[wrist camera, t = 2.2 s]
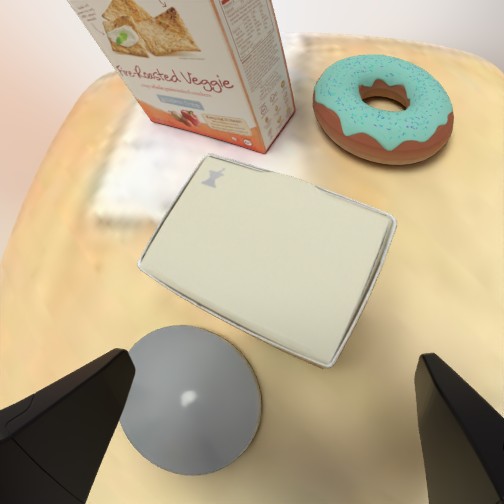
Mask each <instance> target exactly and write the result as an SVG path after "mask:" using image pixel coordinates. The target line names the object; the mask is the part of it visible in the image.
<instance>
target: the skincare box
mask: <svg viewBox="0 0 504 504" xmlns="http://www.w3.org/2000/svg"><path fill="white" fill-rule="evenodd" d="M396 227H397V221H396V219H395V218H394V217H393V216H392V215H391V214H389V213H386V212H384V211H381V210H378V209H376V208H373V207H371V206H368V205H366V204H364V203H361V202H358V201H356V200H353V199H350V198H348V197H345V196H343V195H340V194H337V193H334V192H331V191H329V190H326V189H323V188H321V187H318V186H316V185H313V184H310V183H308V182H305V181H303V180H300V179H297V178H294V177H292V176H288V175H284V174H280V173H276V172H272V171H269V170H266V169H262V168H259V167H256V166H253V165H249V164H246V163H242V162H239V161H235V160H232V159H229V158H225V157H221V156H218V155H215V154H210V153H208V154H206V155H205V156H204V157H203V158H202V160H201V161H200V163H199V164H198V166H197V167H196V169H195V171H194V172H193V173H192V174H191V176H190V177H189V179H188V180H187V182H186V183H185V185H184V186H183V187H182V189H181V190H180V192H179V193H178V195H177V197H176V198H175V200H174V201H173V203H172V204H171V206H170V207H169V209H168V210H167V212H166V213H165V215H164V217H163V218H162V220H161V222H160V223H159V225H158V227H157V228H156V230H155V232H154V233H153V235H152V237H151V238H150V240H149V242H148V245H147V247H146V248H145V250H144V252H143V254H142V255H141V257H140V259H139V261H138V263H137V265H138V268H139V269H140V270H141V271H142V272H144V273H145V274H147V275H148V276H150V277H151V278H152V279H154V280H155V281H157V282H158V283H160V284H161V285H163V286H164V287H166V288H167V289H169V290H170V291H172V292H173V293H175V294H176V295H178V296H180V297H181V298H183V299H185V300H187V301H188V302H190V303H192V304H193V305H195V306H197V307H199V308H200V309H202V310H204V311H206V312H208V313H209V314H211V315H213V316H215V317H217V318H219V319H221V320H222V321H224V322H226V323H228V324H230V325H232V326H234V327H236V328H238V329H240V330H242V331H244V332H246V333H248V334H250V335H252V336H254V337H256V338H258V339H260V340H262V341H264V342H266V343H268V344H270V345H272V346H274V347H276V348H277V349H279V350H281V351H283V352H286V353H288V354H290V355H292V356H294V357H297V358H299V359H301V360H303V361H306V362H308V363H310V364H313V365H315V366H317V367H319V368H322V369H325V368H331V367H332V366H333V365H334V364H335V363H336V361H337V359H338V357H339V355H340V354H341V352H342V350H343V348H344V346H345V344H346V343H347V341H348V339H349V337H350V335H351V333H352V331H353V329H354V327H355V326H356V324H357V322H358V320H359V318H360V316H361V314H362V312H363V309H364V307H365V305H366V303H367V301H368V299H369V297H370V294H371V292H372V290H373V288H374V285H375V283H376V281H377V278H378V276H379V274H380V271H381V269H382V266H383V263H384V261H385V258H386V255H387V253H388V250H389V247H390V245H391V242H392V239H393V236H394V233H395V231H396Z"/></svg>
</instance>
